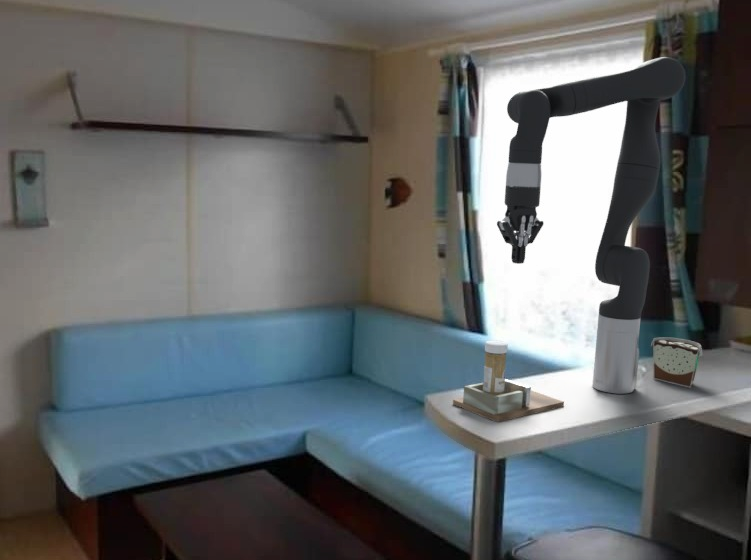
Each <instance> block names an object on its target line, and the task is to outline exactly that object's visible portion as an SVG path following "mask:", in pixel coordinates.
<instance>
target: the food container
mask: <svg viewBox="0 0 751 560" xmlns="http://www.w3.org/2000/svg"><path fill="white" fill-rule="evenodd" d="M650 347H652V354H653V355H652V357H653V358H652V361H653V362H652V364H653V365H652V368H653V369H652V372H653V373H652V374H653V377H652V379H653V380H656V381H661V382H665V383H668V384H669V383H670V384H674V385H677V386H681V387H684V388H689V389H691V388H693V385H694V381H695V376H696V373H697V368H698V364H699V358H700V357H702V356H703V347H702V345H701V343H699V342H696V341H692V340H689V339H685V338H678V337H668V336H667V337H666V336H665V337H664V336H663V337H660V336H659V337H654V338H653V340H652V341H651V344H650Z"/></svg>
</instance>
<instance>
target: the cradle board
mask: <svg viewBox="0 0 751 560" xmlns="http://www.w3.org/2000/svg"><path fill="white" fill-rule="evenodd" d="M522 397H523V392H522V391H515V392H511V393H506V394H501V395H496V396H494V395H492V394H489V393H486V392H484V391H483V382H480V383H479V382H478V383H475V384H474V383H473V384H469V385H465V386H463V397H460V398H453V399H452V405H455V406H456V407H460V408H461V407H462V409H464V408H465V409H464V410H466V409H467V411H469V412H471V411H472V412H471V413H474V414H477V415H479V416H481V417H484V418H487V419H488V420H489V419H490V420H491V421H493V422H496V423H498V422H499V423H500V422H504V421H508V420H513V419H515V418H516V419H517V418H520V417H524V416H529V415H532V414H537V413H541V412H546V411H549V410H554V409H558V408H563V407H564V406H565V401H563V400H560V399H557V398H554V397H553V396H552V397H551V396H548V395H545V394H542V393H540V392H537V391H534V390H531V392H530V405H529V406H523V405H522Z"/></svg>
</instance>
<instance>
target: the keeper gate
mask: <svg viewBox="0 0 751 560" xmlns="http://www.w3.org/2000/svg"><path fill="white" fill-rule="evenodd" d="M515 391H522V392H523V397H522V405H523V406H529V405H530V392H531V391H532V387H531V386H529V385H527V384H523V383H519V382H517V381H513V380H510V379H508V378H507V379H506V378H505V384H504V394H506V393H511V392H515Z"/></svg>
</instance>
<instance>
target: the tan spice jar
mask: <svg viewBox="0 0 751 560" xmlns="http://www.w3.org/2000/svg"><path fill="white" fill-rule="evenodd" d="M484 353H485V356H484V365H483V381H482V383H483V391H484V392H486V393H489V394H492V395H494V396H496V395H501V394H504V384H505V379H506V363H507V362H506V361H507V359H506V358H507V353H508V343H507V342H506V341H502V340H497V339H496V340H495V339H494V340H492V339H491V340H486V341H485V343H484Z"/></svg>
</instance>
